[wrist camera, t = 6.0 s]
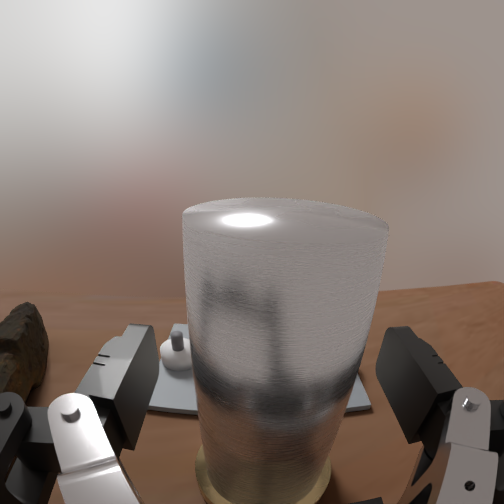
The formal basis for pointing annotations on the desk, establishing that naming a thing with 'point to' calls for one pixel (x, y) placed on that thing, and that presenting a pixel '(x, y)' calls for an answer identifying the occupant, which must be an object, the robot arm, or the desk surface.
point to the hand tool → (22, 350)
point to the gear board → (182, 382)
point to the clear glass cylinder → (276, 339)
